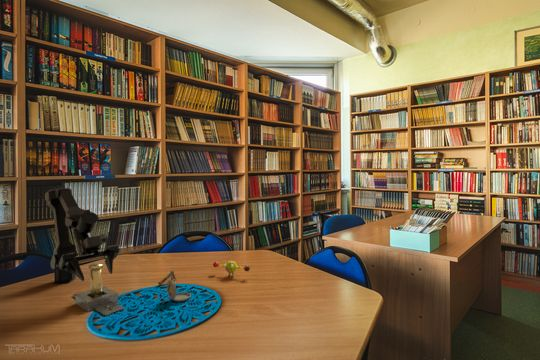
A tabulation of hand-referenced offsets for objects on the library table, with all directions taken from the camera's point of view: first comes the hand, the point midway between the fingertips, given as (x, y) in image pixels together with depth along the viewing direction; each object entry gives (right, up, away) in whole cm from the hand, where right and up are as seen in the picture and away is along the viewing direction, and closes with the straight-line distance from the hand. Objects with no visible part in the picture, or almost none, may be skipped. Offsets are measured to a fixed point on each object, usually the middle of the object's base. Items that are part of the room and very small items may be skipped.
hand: (97, 276), depth 109 cm
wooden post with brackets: (+17, -9, +20) cm, 28 cm away
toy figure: (+43, -9, +28) cm, 52 cm away
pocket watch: (+27, -10, +4) cm, 29 cm away
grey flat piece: (-1, -10, +1) cm, 10 cm away
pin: (-1, -10, +1) cm, 10 cm away
